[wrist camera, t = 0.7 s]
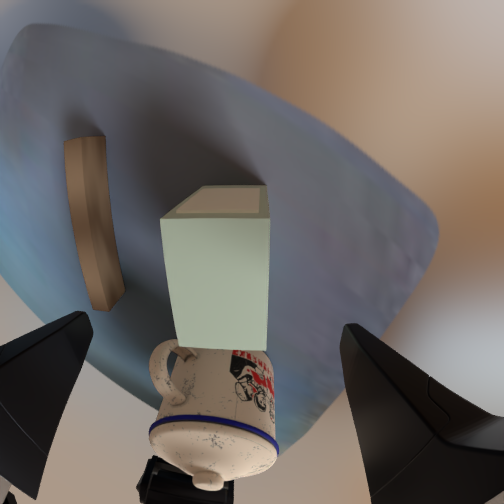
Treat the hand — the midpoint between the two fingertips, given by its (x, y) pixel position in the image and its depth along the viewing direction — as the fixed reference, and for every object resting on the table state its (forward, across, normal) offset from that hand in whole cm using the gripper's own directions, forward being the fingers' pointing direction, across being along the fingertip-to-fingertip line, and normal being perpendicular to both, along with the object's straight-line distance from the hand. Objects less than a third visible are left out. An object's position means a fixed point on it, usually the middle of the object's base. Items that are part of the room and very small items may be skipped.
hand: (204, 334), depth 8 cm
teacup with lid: (+11, +2, +11) cm, 16 cm away
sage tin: (+10, 0, 0) cm, 11 cm away
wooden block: (+10, +10, -1) cm, 14 cm away
